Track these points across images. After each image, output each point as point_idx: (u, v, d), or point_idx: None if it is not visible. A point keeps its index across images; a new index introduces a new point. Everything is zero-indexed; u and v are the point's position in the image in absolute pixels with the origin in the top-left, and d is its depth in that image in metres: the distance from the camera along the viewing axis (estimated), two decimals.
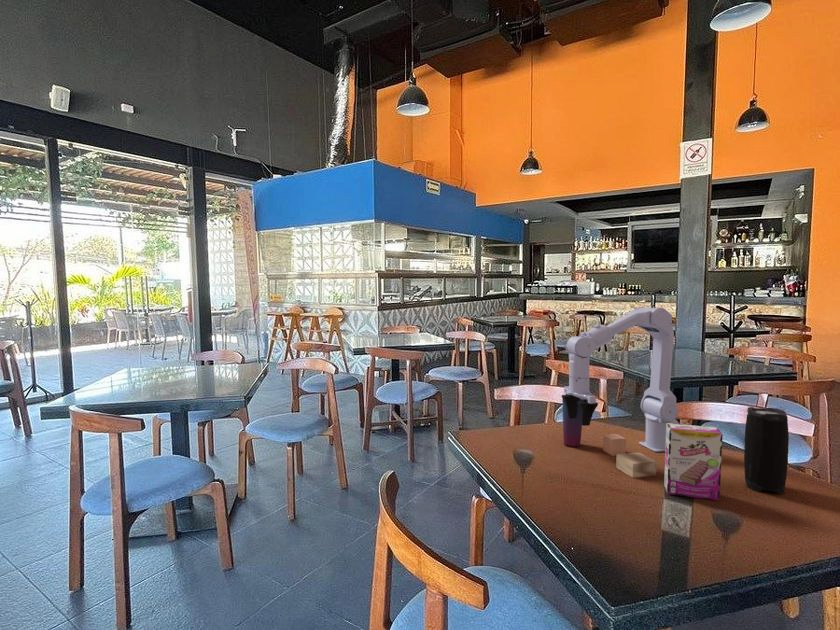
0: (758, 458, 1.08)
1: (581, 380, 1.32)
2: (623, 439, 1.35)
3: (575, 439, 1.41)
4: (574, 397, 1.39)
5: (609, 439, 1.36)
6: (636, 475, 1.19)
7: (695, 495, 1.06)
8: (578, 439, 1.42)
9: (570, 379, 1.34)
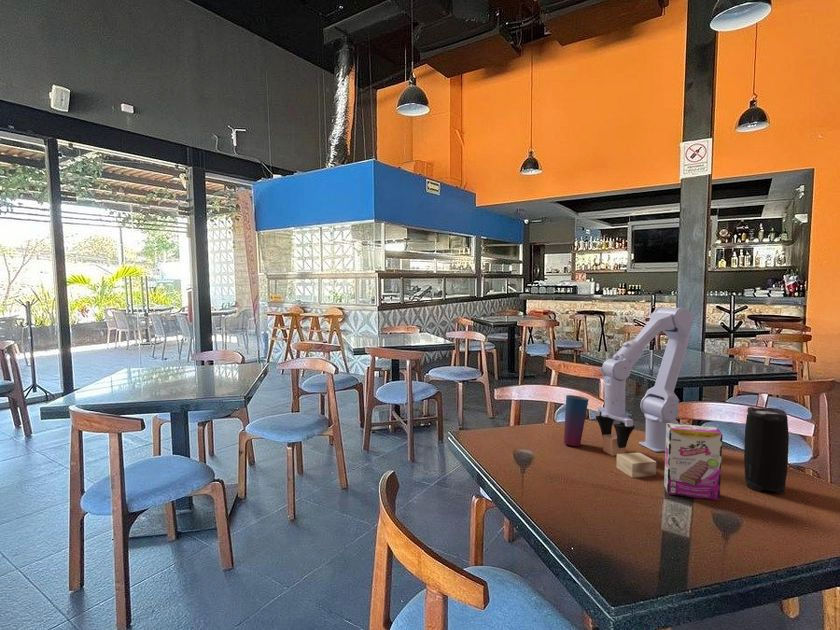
0: (758, 458, 1.08)
1: (617, 403, 1.33)
2: None
3: (576, 438, 1.41)
4: (608, 418, 1.40)
5: (608, 439, 1.36)
6: (636, 475, 1.19)
7: (695, 495, 1.06)
8: (579, 439, 1.42)
9: (606, 401, 1.36)
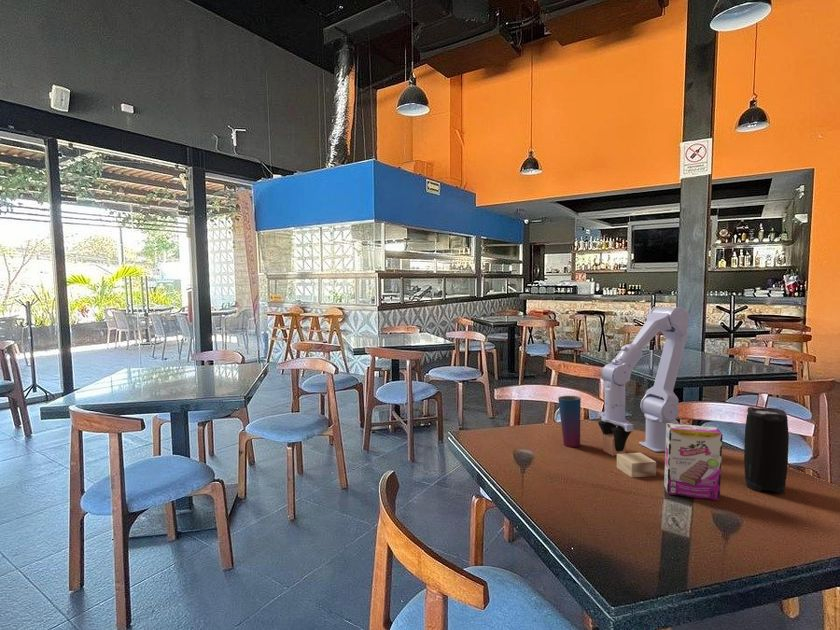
0: (758, 458, 1.08)
1: (617, 407, 1.33)
2: None
3: (575, 439, 1.41)
4: (611, 424, 1.39)
5: (608, 438, 1.36)
6: (635, 475, 1.19)
7: (695, 495, 1.06)
8: (577, 439, 1.42)
9: (606, 406, 1.36)
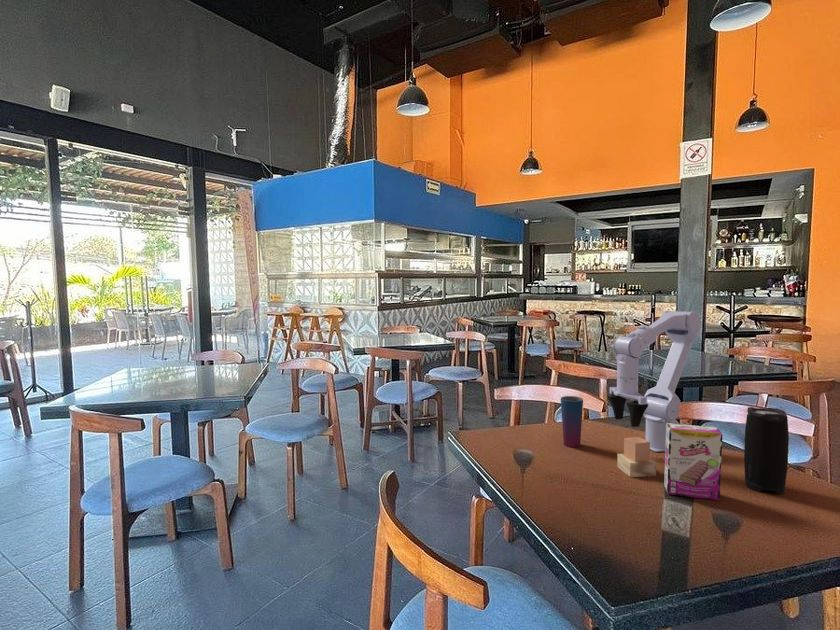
0: (758, 458, 1.08)
1: (630, 381, 1.30)
2: (647, 443, 1.20)
3: (575, 440, 1.41)
4: (621, 398, 1.37)
5: (631, 443, 1.21)
6: (634, 475, 1.19)
7: (695, 495, 1.06)
8: (578, 440, 1.41)
9: (618, 380, 1.33)
